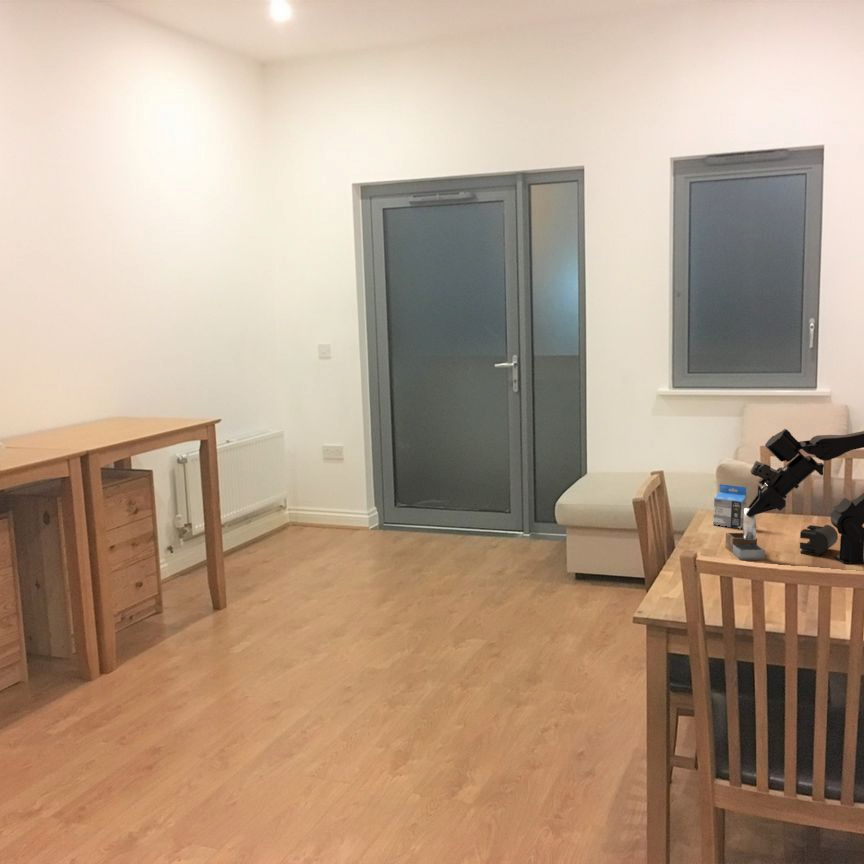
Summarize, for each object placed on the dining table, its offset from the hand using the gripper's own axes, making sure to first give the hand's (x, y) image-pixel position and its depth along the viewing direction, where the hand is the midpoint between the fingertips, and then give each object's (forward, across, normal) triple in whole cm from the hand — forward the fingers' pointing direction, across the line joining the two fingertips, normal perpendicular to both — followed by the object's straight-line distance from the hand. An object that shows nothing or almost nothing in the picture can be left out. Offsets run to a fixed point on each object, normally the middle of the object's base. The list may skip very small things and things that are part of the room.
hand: (747, 513), depth 241 cm
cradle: (+8, 0, +8) cm, 11 cm away
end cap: (-5, -9, +22) cm, 24 cm away
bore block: (+9, -6, +7) cm, 13 cm away
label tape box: (+11, -34, +6) cm, 37 cm away
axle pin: (+4, 0, +5) cm, 7 cm away
